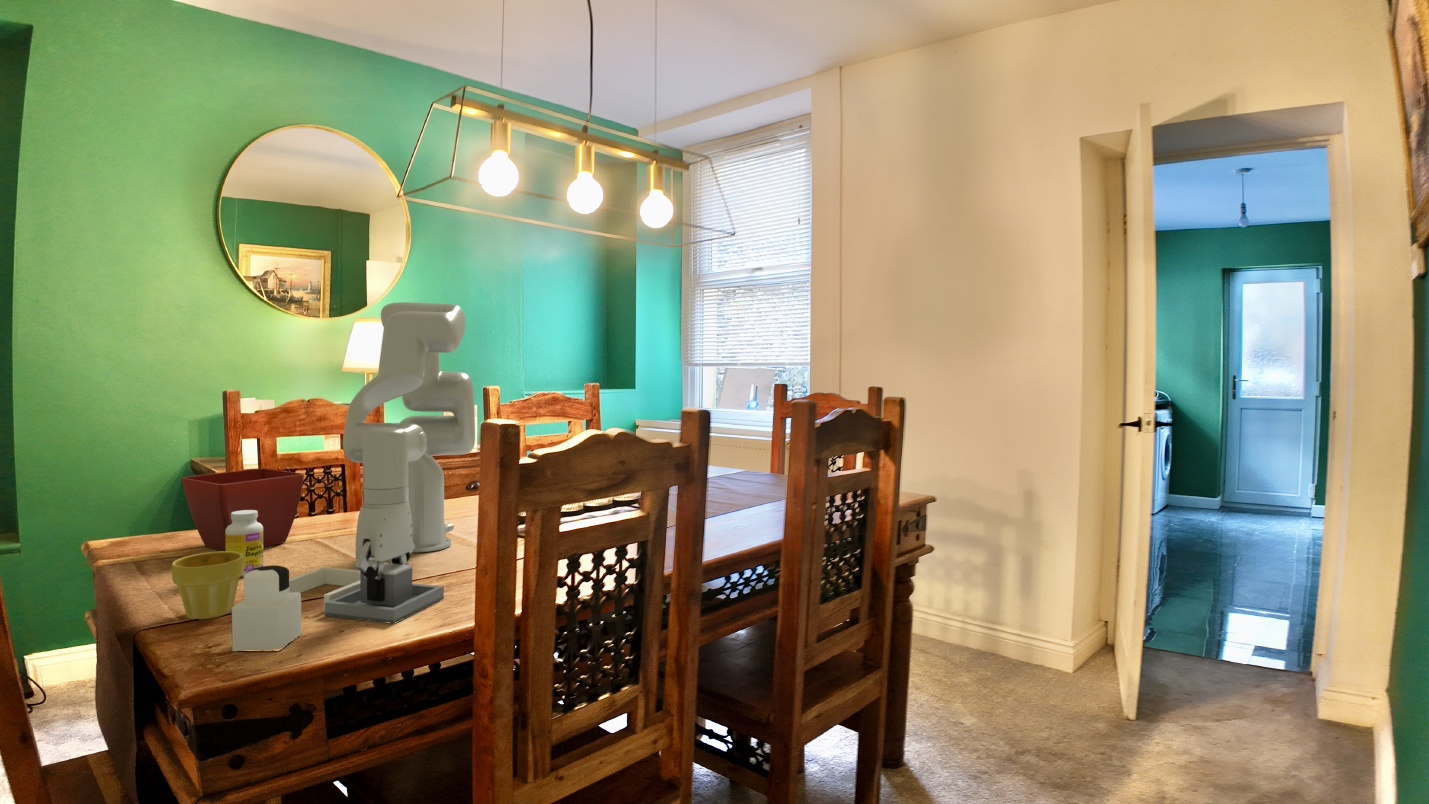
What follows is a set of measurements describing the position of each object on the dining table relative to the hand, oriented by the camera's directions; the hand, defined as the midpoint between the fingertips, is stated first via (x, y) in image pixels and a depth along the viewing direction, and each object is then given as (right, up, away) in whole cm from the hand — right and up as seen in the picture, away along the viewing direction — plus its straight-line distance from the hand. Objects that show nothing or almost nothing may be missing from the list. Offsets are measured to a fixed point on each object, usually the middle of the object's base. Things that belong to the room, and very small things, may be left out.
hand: (386, 594), depth 134 cm
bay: (-14, -2, +6) cm, 15 cm away
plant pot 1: (-53, 0, +43) cm, 68 cm away
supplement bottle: (-38, -1, +20) cm, 43 cm away
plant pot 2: (-29, -2, -5) cm, 29 cm away
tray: (0, -2, 0) cm, 2 cm away
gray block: (0, -1, 0) cm, 1 cm away
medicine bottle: (-11, -3, -18) cm, 21 cm away
